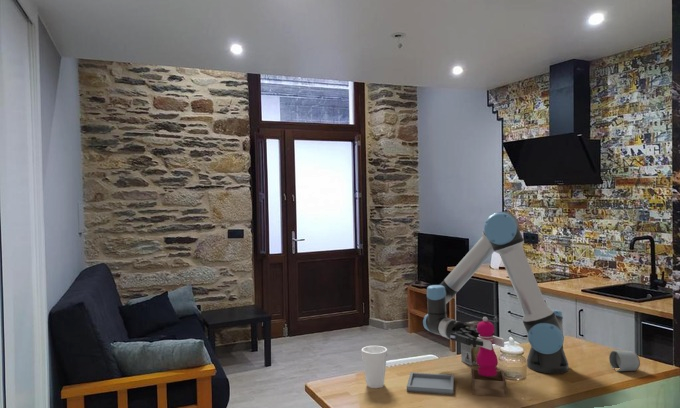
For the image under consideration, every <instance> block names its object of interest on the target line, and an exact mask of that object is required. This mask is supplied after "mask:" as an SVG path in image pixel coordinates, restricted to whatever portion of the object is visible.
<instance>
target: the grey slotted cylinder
mask: <svg viewBox="0 0 680 408" xmlns="http://www.w3.org/2000/svg"><path fill="white" fill-rule="evenodd" d="M608 359H609V364H610V366H611V368H612V369H613V368H614V369H615V368H620V369H619V370H617V371H616V372H633V371H637V370H639V369H640V367H641V360H640V358H639V355H638V354H637V353H636V352H635V351H630V350H619V349H618V350H617V349H614V350H611V351H610V353H609V356H608ZM614 369H613V370H614Z"/></svg>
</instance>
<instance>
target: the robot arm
mask: <svg viewBox="0 0 680 408" xmlns="http://www.w3.org/2000/svg"><path fill="white" fill-rule="evenodd" d="M524 243H525V239H524V238H523V235H522V233H521V230H520V224H519V221H518V219H517V218H516V216H515V215H514V214H512V213H511V212H508V211H498V212H494V213H493V214H491V215H489V216H488V217H487V218H486V219H485V222H484V225H483V231H482V236H481V237H480V238H479V240H478V241H477V242H476V243H474V245H473V246H472V247H471V248H470V249H469V251H468V252H467V253H466V254H465V256H463V258H462V259H461V260H460V261H459V262H458V264H456V266H455V267H454V268H453V269H452V270H451V271H450V273H448V275H447V276H446V277H445V278H444V279H443V281H441V283H439V284H432V285H431V284H430V285H428V286H427V287H426V300H427V301H426V304H427V314H425V315H424V317H423V320H422V324H423V327H424V329H425V330H427V331H428V332H430V333H431V334H434V335H438V336H441V337H443V338H446V339H447V340H451V341H454V342H459V343H460V344H461V343H463V344H466V345H469V346H470V345H471V344H472V345H473V347H476V345H478V346H480V347H483V348H486V349H489V350H492V345H495V346H498V347H502V348H505V339H504V338H502V337H499V336H496V335H495V332H494V333H493V334H492V335H493V340H492V342H491V341H488V340H485V339H482V338H479V333H478V331H477V328H476V330H475V329H470V328H468V327H466V326H465V324H464V323H465V322H462V321H459V320H455V319H453V318H449V317H447V316H448V315H447V304H448V303H450V301H451V300H452V299H453V298H454V297H455V295H457V294H458V292H459V291H460V290H461V289H462V288H463V286H465V284H466V283H467V282H468V281H469V280H470V279H471V278H472V277H473V275H474V274H475V273H476V272H477V271H478V270H479V269H480V268H481V267H482V266H483V265H484V264H485V263H486V261H487V260H488V259H489V258H490V257H491V256H492V254H493V253H494V252H495V253H496V254H498V255H499V256H500V259H501V261H502V263H503V267H504V269H505V271H506V273H507V276H508V278H509V280H510V283H511V285H512V287H513V290H514V293H515V295H516V297H517V300H518V302H519V304H520V306H521V307H520V308H521V309H522V312H523V317H522V319H521V320H522V323H523V325H524V327H525V330H526V333H527V341H528V342H529V345H530V348H529V352H528V354H527V359H526V366H527V367H528V368H529V369H530V370H533V371H536V372H538V373H543V374H544V373H545V374H550V375H553V374H557V375H558V374H564V373H566V372H567V373H568V371H570V370H569V362H568V358H567V355H566V353H565V351H564V341H565V336H564V328H563V327H564V325H563V319H564V317H563V312H562V311H561V310H559V309H556V308H555V309H553V308H549V307H548V305H547V303H546V301H545V299H544V297H543V293H542V291H541V289H540V286H539V283H538V282H537V279H536V277H535V275H534V272H533V269H532V268H531V266H530V263H529V261H528V258H527V256H526V253H525V251H524V248H523V245H524Z"/></svg>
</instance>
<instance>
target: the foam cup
mask: <svg viewBox="0 0 680 408" xmlns="http://www.w3.org/2000/svg"><path fill="white" fill-rule="evenodd" d="M387 357H388V348H387V347H385V346H382V345H367V346H364V347H362V348H361V358H362V365H363V370H364V376H365V377H364V378H365V382H366V383H365V384H366V387H367V388H372V389H379V388H382V387H384V385H385V378H386V368H387V367H386V366H387Z"/></svg>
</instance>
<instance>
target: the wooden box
mask: <svg viewBox="0 0 680 408" xmlns="http://www.w3.org/2000/svg"><path fill="white" fill-rule="evenodd" d="M471 390H472V392H471V393H472V396H473V395H475V396H486V397H487V396H488V397H489V396H490V397H498V398H499V397H500V398H501V397H502V398H507V380H506V376H505V372H504V370H498V369H497V375H495V376H483V375H480V374H479V373H478V368H471Z"/></svg>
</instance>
